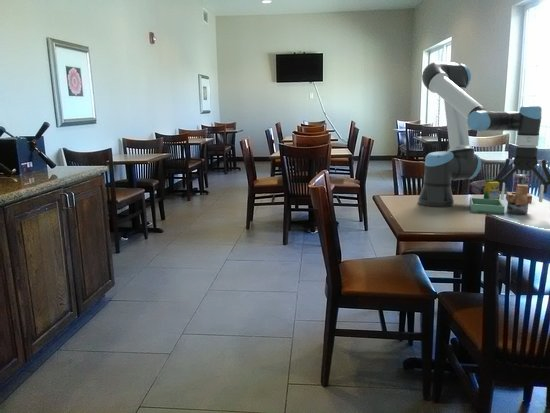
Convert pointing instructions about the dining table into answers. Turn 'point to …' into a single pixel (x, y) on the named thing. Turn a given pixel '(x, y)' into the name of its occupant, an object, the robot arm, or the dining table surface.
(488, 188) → the crayon box
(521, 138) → the robot arm
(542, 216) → the dining table surface
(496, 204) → the tray
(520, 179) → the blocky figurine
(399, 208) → the dining table surface
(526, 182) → the beverage can
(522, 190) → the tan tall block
